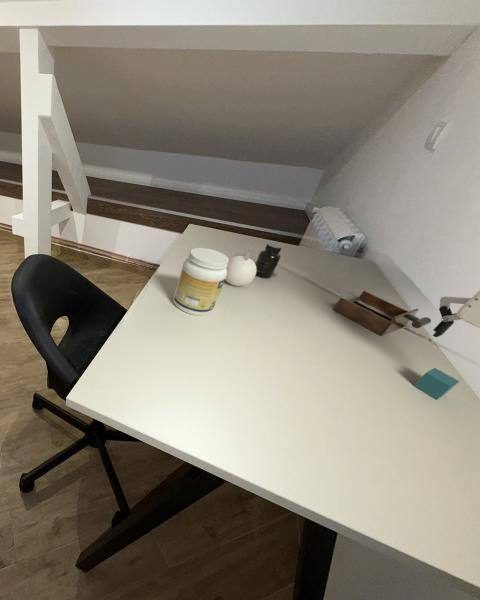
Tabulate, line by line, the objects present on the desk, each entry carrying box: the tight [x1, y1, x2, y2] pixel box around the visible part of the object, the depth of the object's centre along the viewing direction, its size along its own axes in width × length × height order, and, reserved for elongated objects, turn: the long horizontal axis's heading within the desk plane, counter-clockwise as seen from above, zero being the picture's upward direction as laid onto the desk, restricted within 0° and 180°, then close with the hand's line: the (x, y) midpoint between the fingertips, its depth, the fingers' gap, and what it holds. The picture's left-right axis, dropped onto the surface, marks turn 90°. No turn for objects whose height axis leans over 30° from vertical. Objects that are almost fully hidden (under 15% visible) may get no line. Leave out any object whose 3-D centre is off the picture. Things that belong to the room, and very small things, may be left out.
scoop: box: [332, 290, 432, 337], centre depth 95 cm, size 18×14×7 cm
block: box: [413, 367, 460, 401], centre depth 73 cm, size 4×4×4 cm
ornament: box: [225, 252, 257, 287], centre depth 106 cm, size 10×10×12 cm
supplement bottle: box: [254, 242, 283, 279], centre depth 115 cm, size 7×7×12 cm
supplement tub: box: [172, 247, 230, 316], centre depth 91 cm, size 12×12×17 cm
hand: (464, 349), depth 68 cm, fingers open, 9 cm apart
